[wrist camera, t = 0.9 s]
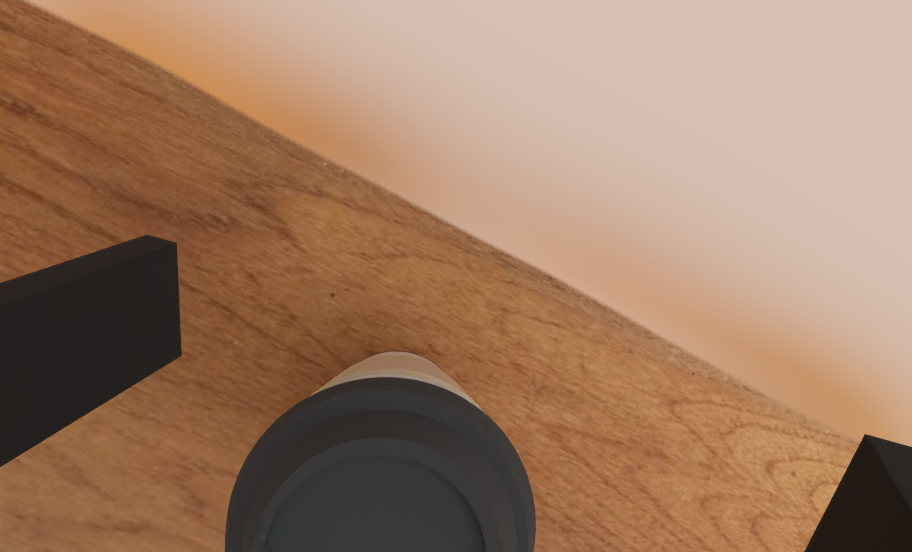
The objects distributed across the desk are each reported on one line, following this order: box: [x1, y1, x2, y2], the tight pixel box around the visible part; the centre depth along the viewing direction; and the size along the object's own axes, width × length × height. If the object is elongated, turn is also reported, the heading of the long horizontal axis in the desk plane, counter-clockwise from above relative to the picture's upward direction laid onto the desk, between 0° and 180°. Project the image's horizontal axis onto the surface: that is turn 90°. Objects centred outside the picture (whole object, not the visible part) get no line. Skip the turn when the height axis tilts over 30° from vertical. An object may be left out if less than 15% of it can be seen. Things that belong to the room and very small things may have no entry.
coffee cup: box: [225, 351, 536, 552], centre depth 22 cm, size 9×9×15 cm
